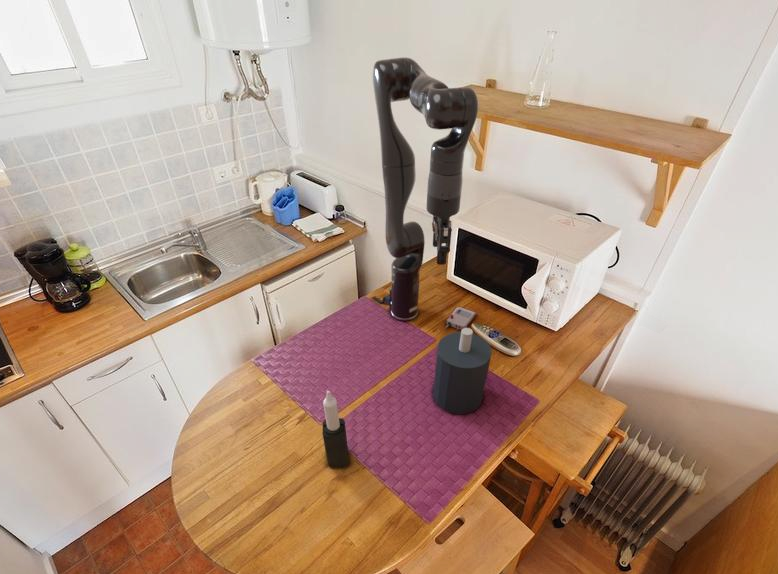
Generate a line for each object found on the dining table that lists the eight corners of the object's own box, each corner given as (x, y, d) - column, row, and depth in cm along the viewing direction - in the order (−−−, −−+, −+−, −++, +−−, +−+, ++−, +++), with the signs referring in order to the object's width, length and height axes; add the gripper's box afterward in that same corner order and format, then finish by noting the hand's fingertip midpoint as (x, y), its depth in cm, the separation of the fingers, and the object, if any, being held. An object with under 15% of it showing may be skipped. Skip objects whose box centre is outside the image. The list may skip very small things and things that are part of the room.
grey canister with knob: (422, 393, 122) (427, 330, 107) (455, 370, 129) (464, 307, 113) (459, 422, 114) (470, 358, 99) (492, 396, 121) (506, 332, 105)
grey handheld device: (477, 312, 151) (479, 305, 149) (458, 336, 141) (459, 329, 139) (460, 306, 153) (461, 299, 151) (440, 330, 143) (441, 323, 141)
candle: (328, 450, 108) (316, 383, 92) (348, 449, 109) (340, 381, 92) (327, 468, 105) (315, 401, 88) (348, 466, 105) (340, 399, 88)
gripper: (424, 178, 101) (421, 241, 111) (430, 204, 90) (426, 270, 101) (456, 178, 101) (450, 240, 111) (466, 203, 90) (458, 269, 101)
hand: (439, 254), depth 106 cm, fingers open, 8 cm apart
